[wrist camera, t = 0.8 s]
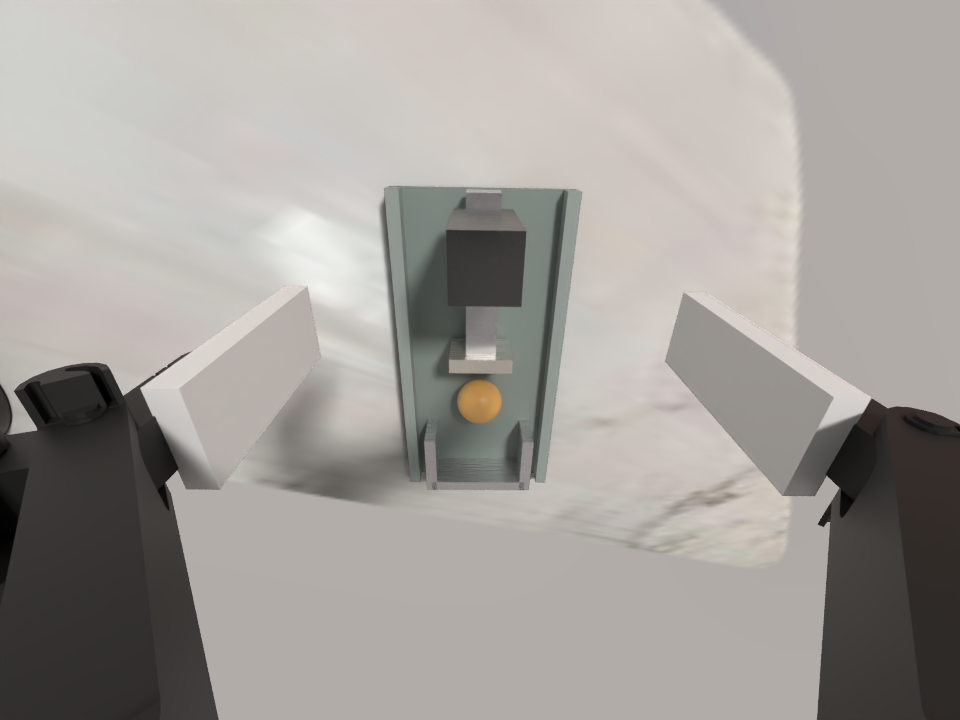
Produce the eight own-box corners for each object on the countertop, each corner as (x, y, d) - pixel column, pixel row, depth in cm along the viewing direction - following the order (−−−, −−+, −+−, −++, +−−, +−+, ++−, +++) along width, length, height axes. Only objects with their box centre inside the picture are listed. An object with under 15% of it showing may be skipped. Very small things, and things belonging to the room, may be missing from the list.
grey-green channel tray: (413, 468, 43) (410, 481, 41) (389, 186, 30) (383, 188, 28) (542, 468, 43) (545, 482, 41) (575, 189, 30) (582, 191, 28)
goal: (431, 461, 42) (427, 489, 39) (428, 415, 39) (424, 441, 36) (524, 461, 42) (528, 490, 39) (528, 416, 40) (533, 442, 36)
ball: (458, 406, 38) (456, 432, 35) (458, 370, 36) (456, 394, 33) (499, 407, 38) (502, 433, 35) (501, 371, 36) (504, 395, 33)
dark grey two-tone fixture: (451, 350, 35) (442, 426, 25) (448, 188, 29) (435, 208, 19) (508, 351, 35) (520, 427, 25) (517, 189, 29) (538, 209, 19)
